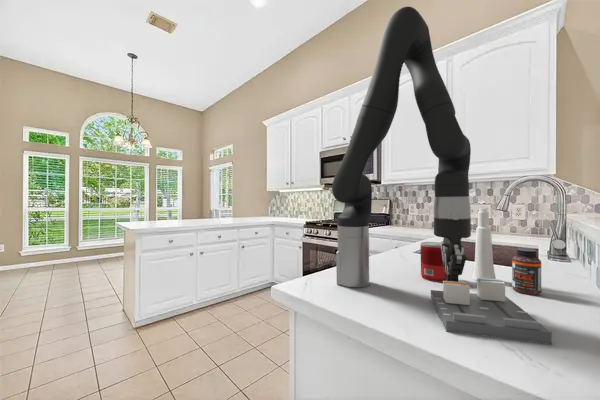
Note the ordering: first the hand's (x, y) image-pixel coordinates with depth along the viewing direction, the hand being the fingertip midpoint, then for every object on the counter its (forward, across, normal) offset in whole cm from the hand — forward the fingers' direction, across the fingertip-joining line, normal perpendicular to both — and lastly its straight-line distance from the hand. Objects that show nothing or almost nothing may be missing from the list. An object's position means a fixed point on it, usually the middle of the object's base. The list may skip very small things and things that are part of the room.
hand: (452, 290), depth 62 cm
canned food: (+4, -23, 0) cm, 23 cm away
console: (+4, +5, +4) cm, 7 cm away
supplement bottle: (+4, -16, +21) cm, 26 cm away
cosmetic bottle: (+4, -25, +14) cm, 29 cm away
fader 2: (+1, -1, +8) cm, 8 cm away
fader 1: (+1, +4, 0) cm, 4 cm away
